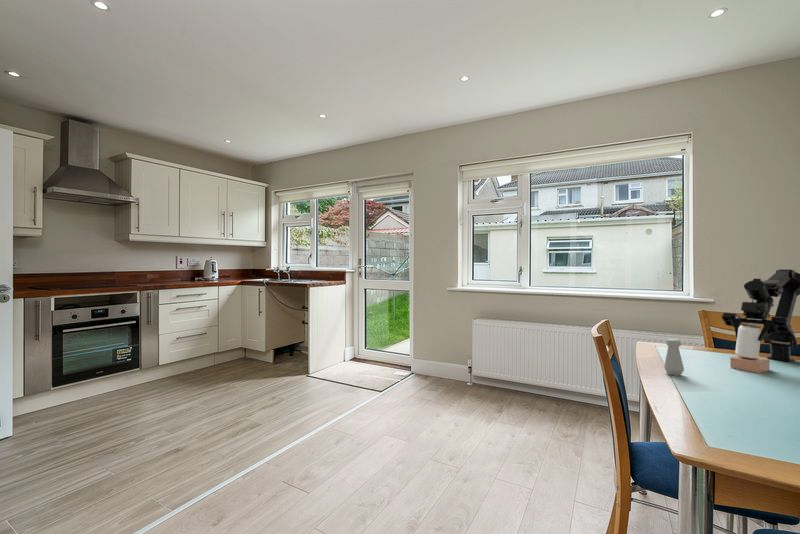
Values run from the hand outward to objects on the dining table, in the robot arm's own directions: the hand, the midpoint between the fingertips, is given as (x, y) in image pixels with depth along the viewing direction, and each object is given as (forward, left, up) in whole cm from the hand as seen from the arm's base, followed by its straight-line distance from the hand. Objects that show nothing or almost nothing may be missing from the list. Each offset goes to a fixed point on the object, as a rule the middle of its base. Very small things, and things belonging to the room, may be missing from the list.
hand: (747, 338), depth 135 cm
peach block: (-1, 0, -12) cm, 12 cm away
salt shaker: (+31, -10, -12) cm, 35 cm away
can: (-1, -1, -7) cm, 7 cm away
